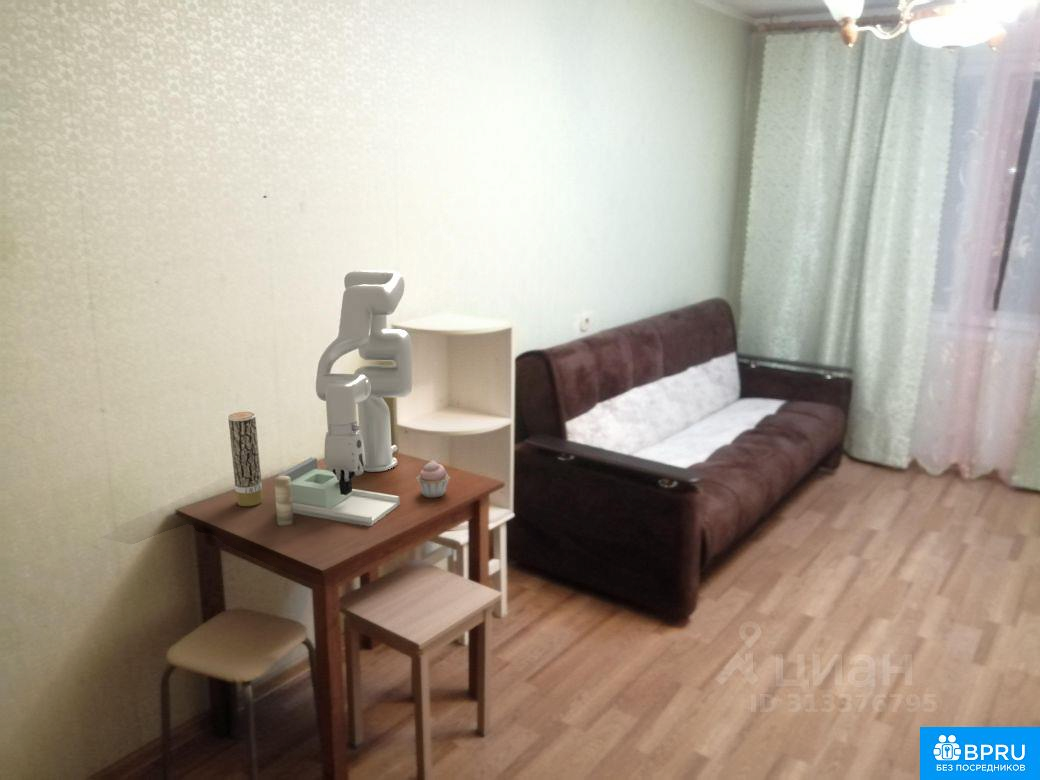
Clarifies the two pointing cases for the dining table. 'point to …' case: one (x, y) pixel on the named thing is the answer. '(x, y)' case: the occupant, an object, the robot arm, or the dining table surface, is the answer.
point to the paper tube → (245, 458)
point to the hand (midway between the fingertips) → (346, 493)
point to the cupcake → (433, 480)
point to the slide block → (317, 489)
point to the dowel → (283, 500)
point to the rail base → (345, 502)
